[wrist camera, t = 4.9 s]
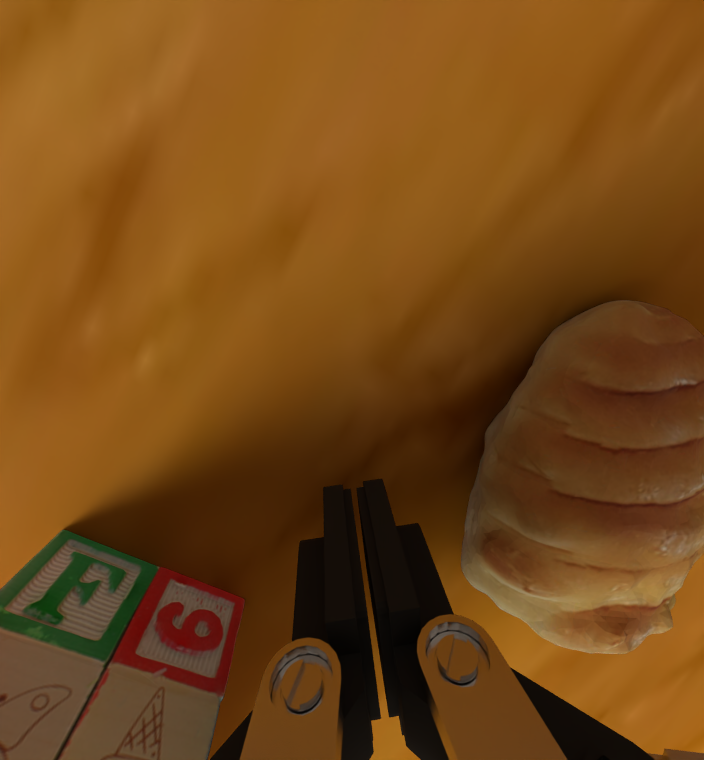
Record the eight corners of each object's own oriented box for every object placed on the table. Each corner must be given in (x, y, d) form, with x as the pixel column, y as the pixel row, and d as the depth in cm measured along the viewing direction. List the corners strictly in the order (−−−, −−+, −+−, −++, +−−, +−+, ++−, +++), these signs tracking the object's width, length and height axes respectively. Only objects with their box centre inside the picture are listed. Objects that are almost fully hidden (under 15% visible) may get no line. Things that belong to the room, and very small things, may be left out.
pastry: (484, 293, 10) (581, 309, 6) (703, 299, 10) (908, 317, 7) (445, 563, 13) (497, 682, 9) (619, 554, 13) (733, 662, 10)
